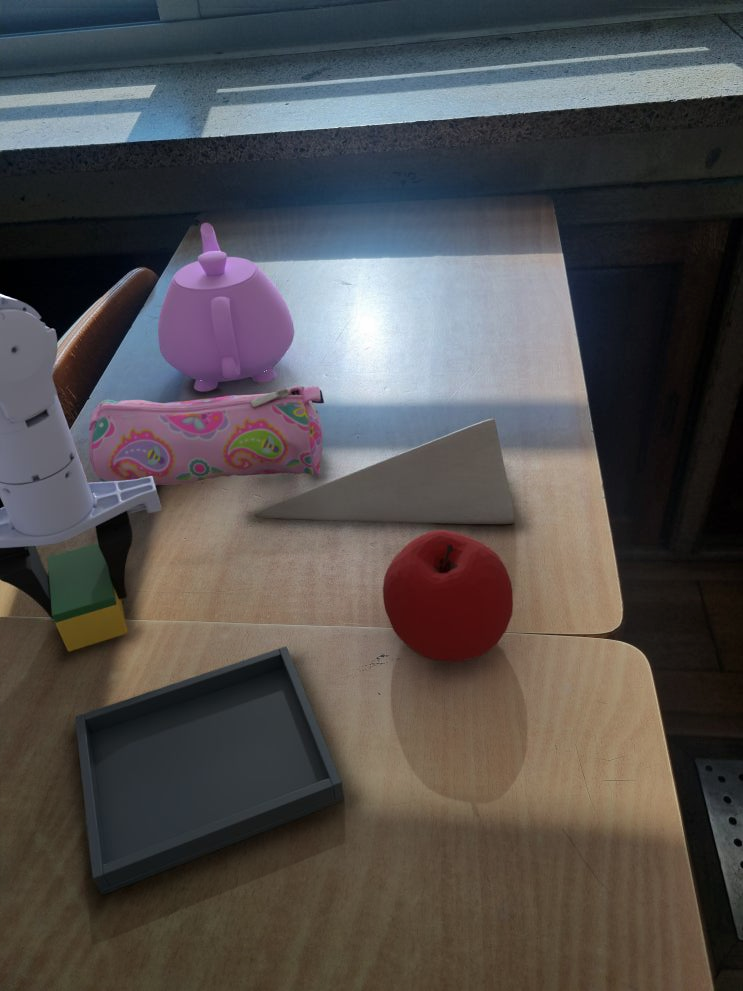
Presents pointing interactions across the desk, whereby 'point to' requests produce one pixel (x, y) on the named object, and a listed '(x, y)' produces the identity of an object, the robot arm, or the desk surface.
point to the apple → (448, 596)
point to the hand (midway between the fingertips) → (89, 599)
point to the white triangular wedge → (417, 486)
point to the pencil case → (208, 437)
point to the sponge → (84, 598)
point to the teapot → (223, 319)
